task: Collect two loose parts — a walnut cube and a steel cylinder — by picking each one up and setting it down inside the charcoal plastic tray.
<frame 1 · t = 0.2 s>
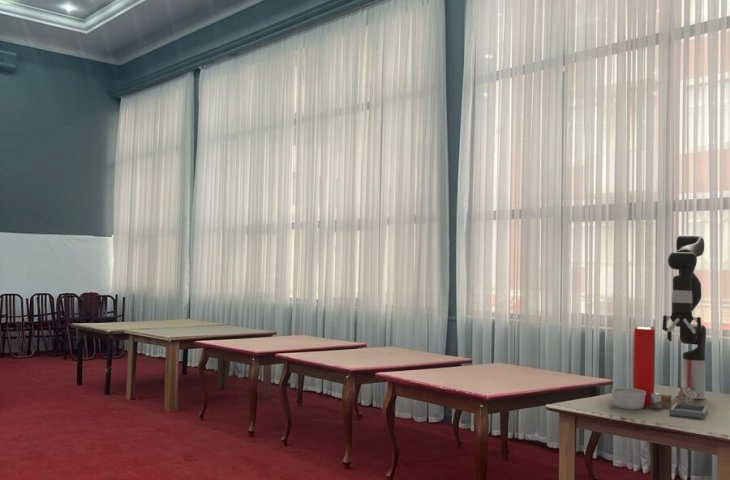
hand: (681, 342, 286), 28 cm above the table, tool pointing down, fingers open, 8 cm apart
ramekin: (628, 407, 295), on the table
walnut cube: (663, 406, 299), on the table
steel cylinder: (655, 408, 293), on the table
charcoal tray: (689, 414, 283), on the table
book: (643, 401, 311), on the table
game die: (687, 405, 302), on the table
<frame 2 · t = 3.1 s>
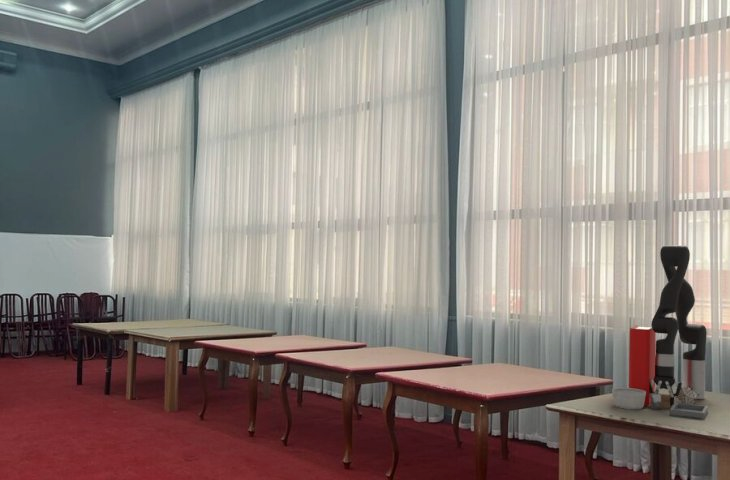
hand: (664, 405, 299), 0 cm above the table, tool pointing down, fingers closed on walnut cube, 5 cm apart
walnut cube: (664, 406, 299), on the table, touching gripper
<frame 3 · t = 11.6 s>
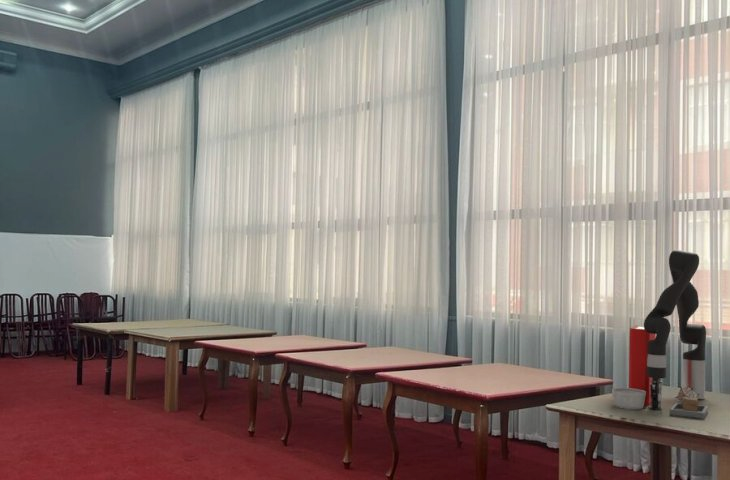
hand: (655, 407, 293), 0 cm above the table, tool pointing down, fingers closed on steel cylinder, 4 cm apart
walnut cube: (690, 411, 286), point 1 cm above the table, touching charcoal tray
steel cylinder: (655, 408, 293), on the table, touching gripper
everything else where it was.
when the fingers open (4 cm above the table, at t = 16.4 s): steel cylinder drops 3 cm, resting on charcoal tray.
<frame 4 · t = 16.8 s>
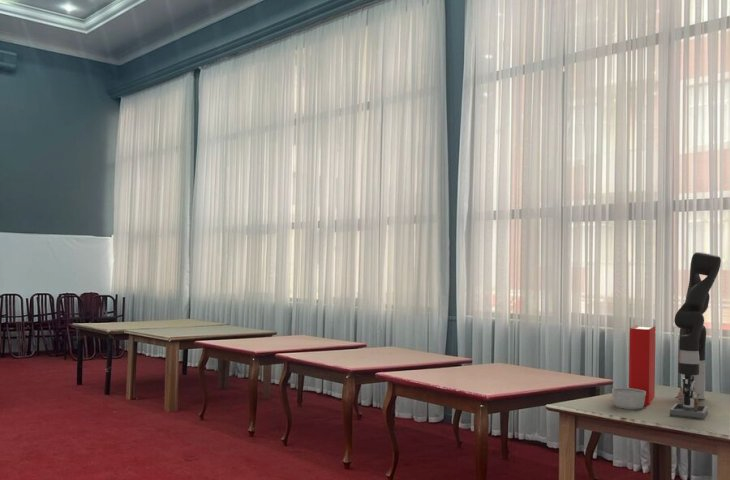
hand: (688, 403, 280), 5 cm above the table, tool pointing down, fingers open, 8 cm apart
walnut cube: (690, 410, 286), point 1 cm above the table, tilted 7°, touching charcoal tray, gripper
steel cylinder: (688, 413, 280), point 1 cm above the table, touching charcoal tray
everything else where it was.
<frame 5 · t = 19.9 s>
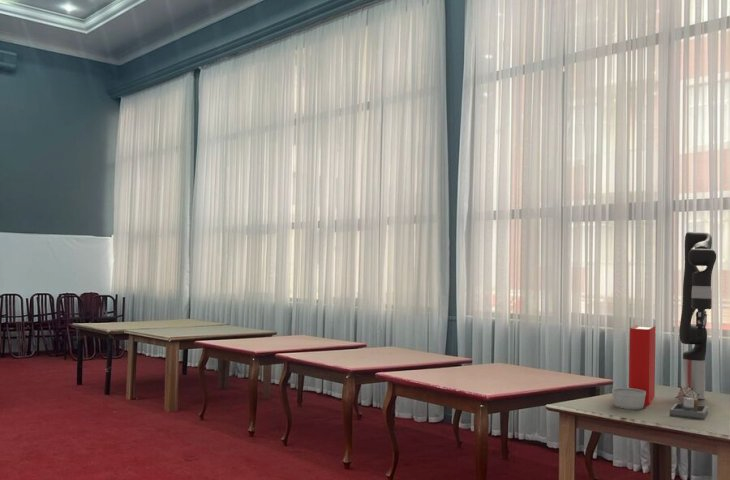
hand: (701, 336, 292), 30 cm above the table, tool pointing down, fingers open, 8 cm apart
walnut cube: (690, 411, 286), point 1 cm above the table, touching charcoal tray
everything else where it was.
at the end: walnut cube inside the target area on the charcoal tray (3.5 cm from its centre), point 0.6 cm above the charcoal tray's base; steel cylinder inside the target area on the charcoal tray (3.7 cm from its centre), point 0.6 cm above the charcoal tray's base; the gripper is holding nothing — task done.
